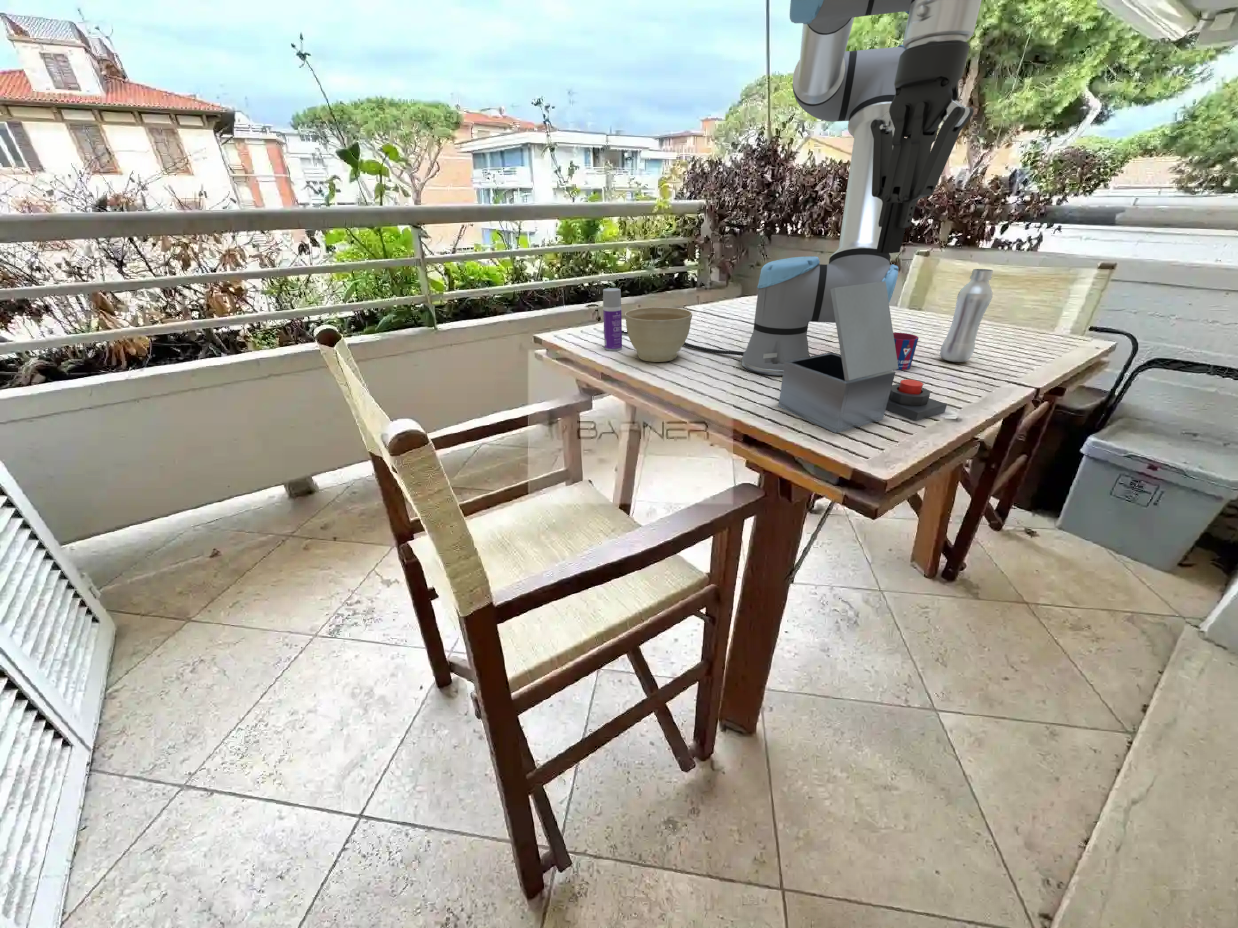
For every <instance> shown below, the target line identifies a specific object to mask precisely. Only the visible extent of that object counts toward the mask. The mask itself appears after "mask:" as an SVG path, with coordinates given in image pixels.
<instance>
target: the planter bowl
mask: <svg viewBox="0 0 1238 928" xmlns="http://www.w3.org/2000/svg"><path fill="white" fill-rule="evenodd" d="M624 319H625V328H626V331H627V333H628V334H627V337H628V339H629V341H630V344H631V346H632V347H633V348H634V350H635V351H636V352H637V356H638V359H640V360H642V361H646V362H652V363H661V362H662V363H663V362H670V361H674V360H676V358H677V356H678V353H679V351H680V350H681V349H682V348H683V346H684V345H683V344H684V343H685V342H686V341H687V339H688V336H689V333H690V331H691V325H692V324H691V323H692V319H693V312H692V311H690V310H688V309H685V308H679V307H669V306H668V307H667V306H666V307H665V306H651V307H649V306H647V307H639V308H635V309H630V310H627V311H625V312H624Z"/></svg>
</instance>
